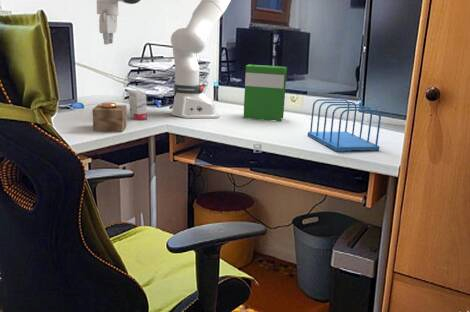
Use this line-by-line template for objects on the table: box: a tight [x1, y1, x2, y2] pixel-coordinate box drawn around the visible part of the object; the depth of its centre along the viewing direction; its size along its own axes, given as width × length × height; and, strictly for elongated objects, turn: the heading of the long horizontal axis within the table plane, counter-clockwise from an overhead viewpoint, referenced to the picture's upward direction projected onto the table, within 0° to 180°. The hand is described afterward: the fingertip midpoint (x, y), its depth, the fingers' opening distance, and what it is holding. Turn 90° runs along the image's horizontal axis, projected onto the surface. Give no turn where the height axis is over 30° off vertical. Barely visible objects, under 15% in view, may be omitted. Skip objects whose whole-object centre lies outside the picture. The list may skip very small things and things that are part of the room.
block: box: [92, 104, 128, 133], centre depth 185 cm, size 11×11×8 cm
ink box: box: [128, 89, 148, 121], centre depth 206 cm, size 9×5×12 cm, turn 33°
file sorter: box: [307, 98, 382, 152], centre depth 178 cm, size 25×17×15 cm
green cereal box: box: [242, 64, 288, 122], centre depth 218 cm, size 18×7×24 cm, turn 76°
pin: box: [101, 102, 117, 108], centre depth 185 cm, size 5×5×9 cm
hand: (108, 43), depth 204 cm, fingers open, 8 cm apart
